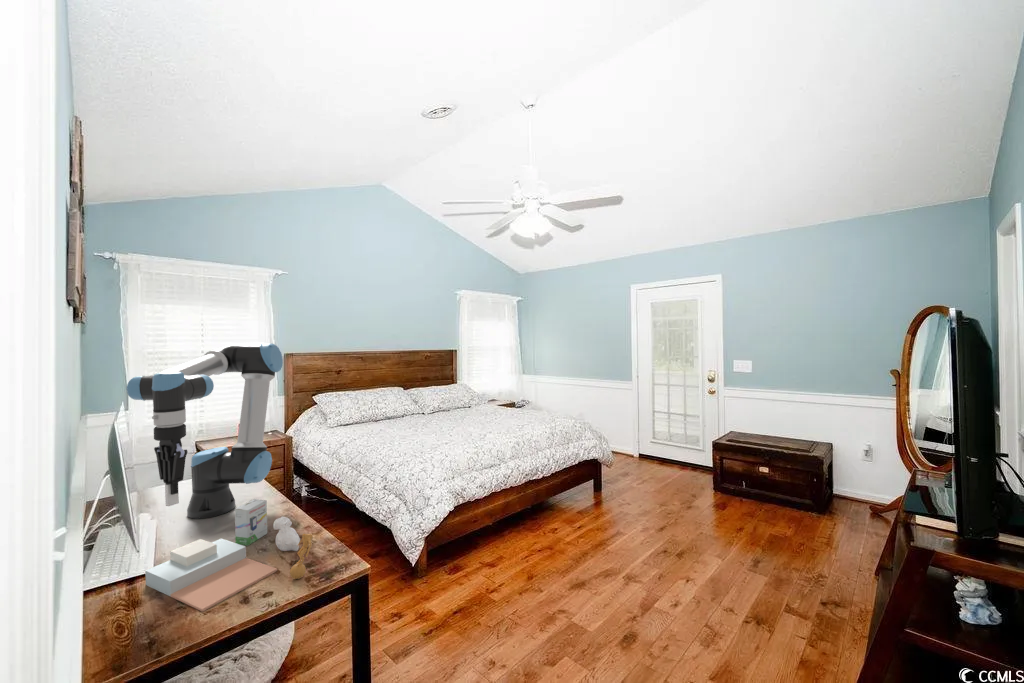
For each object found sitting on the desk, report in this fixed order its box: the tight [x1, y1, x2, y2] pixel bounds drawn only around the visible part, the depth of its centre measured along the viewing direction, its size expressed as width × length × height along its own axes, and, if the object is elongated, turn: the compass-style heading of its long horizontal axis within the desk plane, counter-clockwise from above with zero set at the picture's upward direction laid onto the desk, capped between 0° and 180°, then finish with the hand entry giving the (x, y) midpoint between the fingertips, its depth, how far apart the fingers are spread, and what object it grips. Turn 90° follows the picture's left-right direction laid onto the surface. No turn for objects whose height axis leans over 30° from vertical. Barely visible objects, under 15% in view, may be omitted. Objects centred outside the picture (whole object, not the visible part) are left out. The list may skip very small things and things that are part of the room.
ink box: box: [234, 498, 268, 547], centre depth 145 cm, size 9×5×12 cm, turn 168°
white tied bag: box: [273, 516, 301, 552], centre depth 139 cm, size 12×8×11 cm
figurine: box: [289, 533, 313, 580], centre depth 123 cm, size 8×6×12 cm
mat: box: [170, 557, 278, 612], centre depth 121 cm, size 20×14×1 cm
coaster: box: [169, 538, 217, 566], centre depth 127 cm, size 8×8×2 cm
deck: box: [144, 537, 247, 598], centre depth 126 cm, size 20×12×4 cm, turn 154°
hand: (172, 504), depth 131 cm, fingers closed
